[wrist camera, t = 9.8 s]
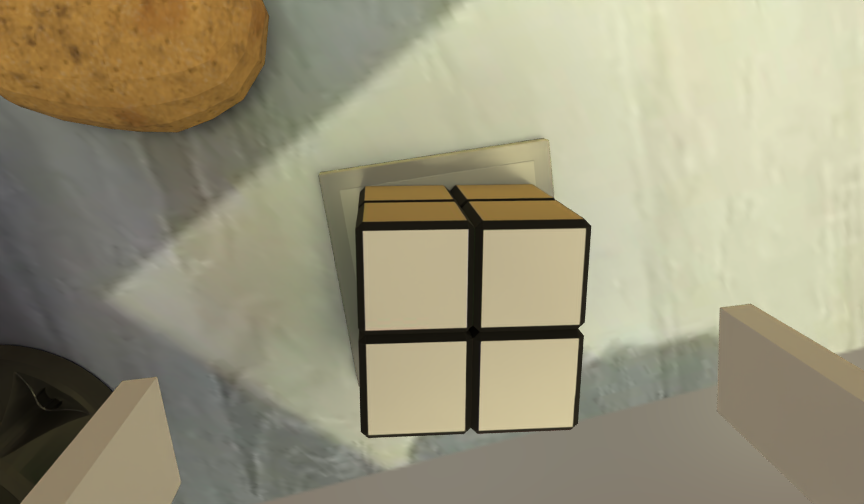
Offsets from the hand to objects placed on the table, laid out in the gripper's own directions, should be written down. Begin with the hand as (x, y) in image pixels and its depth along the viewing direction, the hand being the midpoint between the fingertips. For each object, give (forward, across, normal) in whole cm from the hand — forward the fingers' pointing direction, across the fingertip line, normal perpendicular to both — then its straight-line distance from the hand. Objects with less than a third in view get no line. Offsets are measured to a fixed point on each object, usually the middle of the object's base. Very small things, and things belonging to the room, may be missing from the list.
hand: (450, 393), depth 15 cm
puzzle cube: (+22, +2, -4) cm, 23 cm away
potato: (+24, -12, +10) cm, 29 cm away
